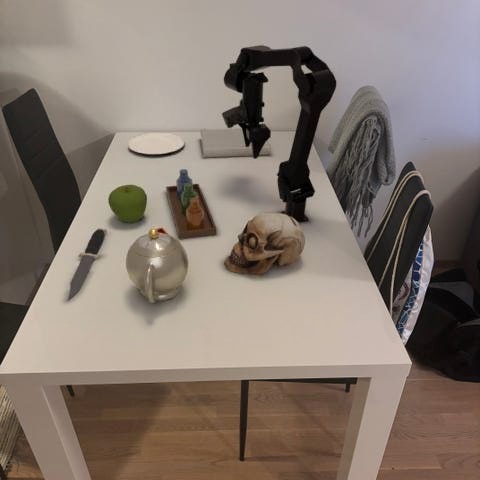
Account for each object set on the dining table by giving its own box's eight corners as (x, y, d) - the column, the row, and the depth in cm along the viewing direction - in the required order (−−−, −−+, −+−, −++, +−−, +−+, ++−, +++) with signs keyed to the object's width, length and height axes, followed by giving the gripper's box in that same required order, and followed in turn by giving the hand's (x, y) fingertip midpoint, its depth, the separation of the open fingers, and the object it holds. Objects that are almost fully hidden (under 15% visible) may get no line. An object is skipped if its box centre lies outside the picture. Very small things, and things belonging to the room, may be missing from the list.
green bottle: (199, 215, 137) (198, 187, 131) (183, 217, 136) (181, 189, 130) (197, 207, 140) (195, 180, 135) (180, 209, 139) (178, 181, 134)
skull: (218, 264, 118) (222, 215, 110) (260, 243, 130) (267, 196, 122) (268, 291, 111) (277, 240, 103) (307, 266, 123) (318, 218, 115)
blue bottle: (194, 200, 144) (193, 173, 138) (178, 202, 143) (176, 174, 137) (191, 193, 147) (190, 166, 142) (176, 194, 146) (174, 168, 141)
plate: (119, 154, 171) (118, 149, 170) (141, 134, 186) (141, 130, 185) (173, 160, 167) (173, 155, 166) (192, 139, 183) (192, 135, 182)
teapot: (138, 271, 116) (129, 211, 106) (194, 273, 116) (190, 213, 105) (120, 319, 103) (107, 255, 92) (183, 322, 102) (177, 258, 92)
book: (200, 130, 180) (262, 127, 183) (200, 140, 183) (262, 138, 185) (203, 148, 167) (270, 145, 169) (203, 159, 169) (270, 156, 172)
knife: (110, 233, 130) (91, 230, 129) (110, 228, 128) (91, 225, 128) (80, 305, 108) (57, 302, 108) (79, 299, 107) (57, 296, 106)
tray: (216, 234, 130) (216, 228, 128) (179, 239, 128) (178, 232, 127) (198, 189, 150) (198, 183, 149) (166, 192, 149) (165, 186, 147)
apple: (129, 207, 141) (124, 175, 135) (157, 216, 137) (153, 183, 131) (104, 222, 134) (97, 189, 128) (132, 232, 130) (127, 199, 124)
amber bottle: (206, 231, 130) (204, 203, 124) (188, 233, 129) (186, 205, 123) (202, 223, 133) (201, 195, 128) (185, 225, 132) (183, 196, 127)
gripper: (217, 89, 138) (218, 143, 148) (231, 109, 124) (231, 167, 135) (254, 87, 140) (253, 140, 150) (272, 107, 126) (269, 164, 137)
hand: (251, 152), depth 143 cm, fingers open, 9 cm apart
